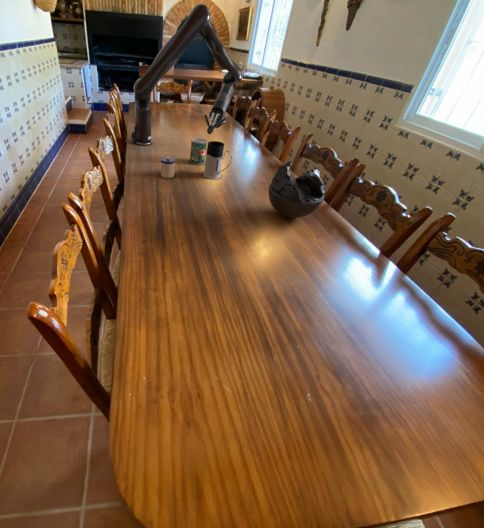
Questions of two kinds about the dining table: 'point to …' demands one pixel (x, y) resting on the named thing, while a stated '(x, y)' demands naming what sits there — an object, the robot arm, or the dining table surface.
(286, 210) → the broken dark shell
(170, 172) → the salt pot
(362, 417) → the dining table surface
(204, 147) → the canned tomato
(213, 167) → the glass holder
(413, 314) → the dining table surface
